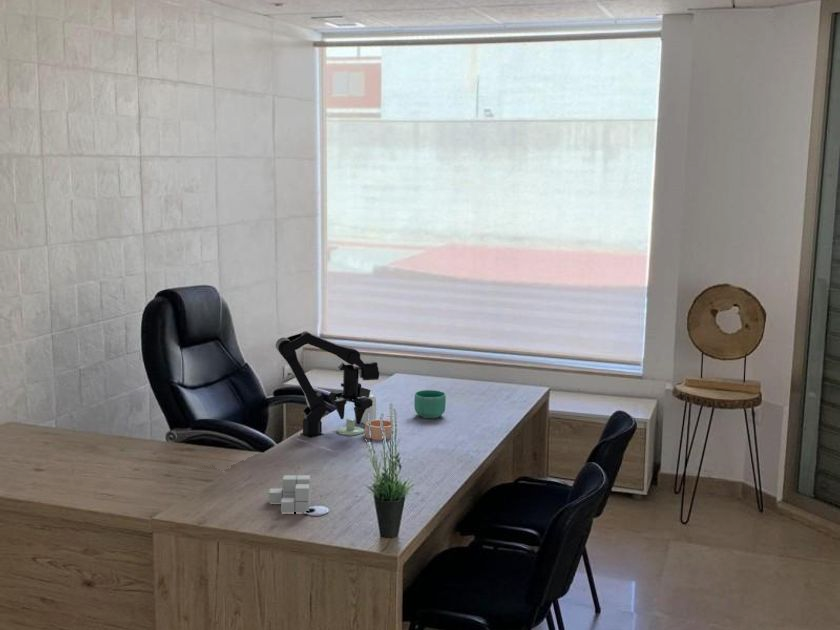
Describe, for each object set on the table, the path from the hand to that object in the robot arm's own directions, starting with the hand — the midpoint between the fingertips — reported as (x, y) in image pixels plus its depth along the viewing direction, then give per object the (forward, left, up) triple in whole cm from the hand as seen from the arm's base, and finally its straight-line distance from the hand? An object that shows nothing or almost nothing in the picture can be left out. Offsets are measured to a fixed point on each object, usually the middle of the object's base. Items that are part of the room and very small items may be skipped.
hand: (350, 421), depth 357 cm
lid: (0, 0, -4) cm, 4 cm away
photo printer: (+14, +7, -5) cm, 16 cm away
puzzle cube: (-66, -47, -5) cm, 81 cm away
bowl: (+5, -11, -4) cm, 13 cm away
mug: (+42, -2, -5) cm, 42 cm away
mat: (0, 0, -4) cm, 4 cm away
